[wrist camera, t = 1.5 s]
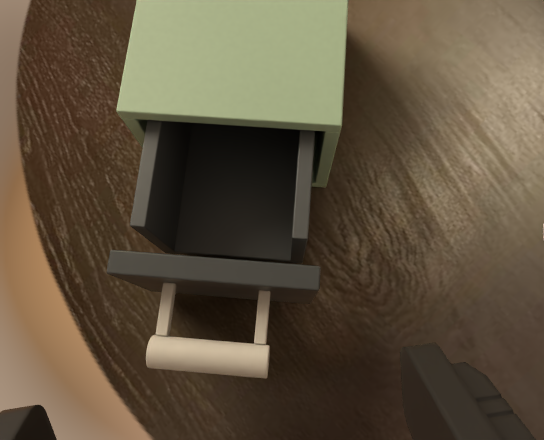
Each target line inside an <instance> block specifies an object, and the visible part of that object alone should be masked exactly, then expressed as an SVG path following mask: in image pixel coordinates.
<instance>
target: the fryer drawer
mask: <svg viewBox="0 0 544 440" xmlns="http://www.w3.org/2000/svg"><path fill="white" fill-rule="evenodd" d="M314 140H315V131H313V130H298V129H282V128H267V127H252V126H236V125H221V124H206V123H190V122H175V121H159V120H147V126H146V132H145V138H144V144H143V150H142V156H141V162H140V168H139V174H138V180H137V186H136V192H135V198H134V204H133V210H132V216H131V222H130V226H131V227H132V228H134V229H135V230H136V231H138V232H139V233H140V234H141V235H143V236H144V237H145V238H147V239H148V240H149V241H151V242H152V243H153V244H155V245H156V246H157V247H158V248H160V249H161V250H162V251H164V252H165V253H171V254H184V255H197V256H210V257H222V258H235V259H248V260H261V261H273V262H286V263H299V264H302V263H303V259H304V254H305V250H306V245H307V241H308V231H309V216H310V201H311V185H312V170H313V155H314ZM171 254H159V253H146V252H133V251H120V250H111V251H110V256H109V261H108V267H107V274H110V275H112V276H115V277H117V278H120V279H122V280H125V281H127V282H130V283H132V284H135V285H137V286H140V287H142V288H145V289H147V290H150V291H156V292H162V294H161V301H160V308H159V315H158V322H157V329H156V335H153V336H152V337H151V338H150V340H149V343H148V346H147V352H146V364H147V367H148V368H156V369H167V370H178V371H189V372H200V373H211V374H222V375H233V376H244V377H256V378H267V376H268V368H269V356H270V346H269V345H266V341H267V329H268V318H269V306H270V301H277V302H290V303H302V304H311V302H312V300H313V299H314V297H315V296H316V294H317V292H318V291H319V289H320V271H321V268H320V266H311V265H298V264H286V263H273V262H260V261H248V260H235V259H222V258H209V257H197V256H184V255H171ZM175 293H181V294H193V295H205V296H217V297H229V298H241V299H253V300H258V304H257V315H256V326H255V338H254V344H250V343H238V342H227V341H215V340H204V339H192V338H181V337H169V335H170V329H171V321H172V314H173V307H174V299H175Z"/></svg>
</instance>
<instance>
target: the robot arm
mask: <svg viewBox="0 0 544 440" xmlns="http://www.w3.org/2000/svg"><path fill="white" fill-rule="evenodd" d="M400 361H401V379H402V398H403V408H404V414H405V418H406V422H407V425H408V428H409V431H410V433H411V435H412V438H413V440H536V439H535V438H534V437H533V435H532V434H531V433H530V431H529V430H528V429H527V428H526V426H525V425H524V424H523V422H522V421H521V420H520V419H519V417H518V416H517V415H516V414H514V413H513V409H512V408H511V407H510V406H509V404H508V403H507V402H506V400H505V399H504V398H502V397H501V394H500V393H499V391H498V390H497V389H496V388H495V386H494V385H493V384H492V382H491V381H490V380H489V378H488V377H487V376H486V375H484V374H483V373H481V372H480V371H478V370H477V369H475V368H474V367H472V366H470V365H469V364H467V363H466V362H462V363H456V364H451V363H450V362H449V360H448V359H447V357H446V356H445V354H444V353H443V351H442V350H441V349H440V347H439V346H438V345H437V344H436V343H428V344H422V345H416V346H409V347H403V348H401V351H400ZM0 440H56V437H55V434H54V431H53V429H52V426H51V423H50V421H49V418H48V416H47V413H46V411H45V409H44V408H43V407H42V406H41V405H34V406H27V407H21V408H15V409H9V410H4V411H2V412H0Z"/></svg>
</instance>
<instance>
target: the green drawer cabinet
mask: <svg viewBox="0 0 544 440" xmlns="http://www.w3.org/2000/svg"><path fill="white" fill-rule="evenodd" d="M347 17H348V0H137V2H136V8H135V13H134V18H133V24H132V29H131V35H130V40H129V45H128V51H127V56H126V61H125V67H124V72H123V78H122V83H121V88H120V94H119V99H118V104H117V110H116V111H117V113H118V114H119V116H120V117H121V118H122V120H123V121H124V123H125V124H126V125H127V127H128V128H129V129H130V131H131V132H132V134H133V135H134V136H135V138H136V139H137V141H138V142H139V143H140V145H141V146H142V147H143V144H144V138H145V132H146V126H147V120H159V121H175V122H190V123H206V124H221V125H236V126H252V127H267V128H282V129H298V130H313V131H315V140H314V155H313V170H312V185H311V187H324V188H325V187H326V185H327V181H328V177H329V174H330V170H331V166H332V162H333V158H334V154H335V151H336V147H337V143H338V139H339V135H340V131H341V127H342V117H343V97H344V77H345V57H346V37H347Z"/></svg>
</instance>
